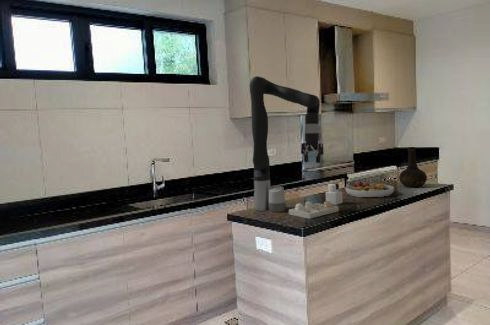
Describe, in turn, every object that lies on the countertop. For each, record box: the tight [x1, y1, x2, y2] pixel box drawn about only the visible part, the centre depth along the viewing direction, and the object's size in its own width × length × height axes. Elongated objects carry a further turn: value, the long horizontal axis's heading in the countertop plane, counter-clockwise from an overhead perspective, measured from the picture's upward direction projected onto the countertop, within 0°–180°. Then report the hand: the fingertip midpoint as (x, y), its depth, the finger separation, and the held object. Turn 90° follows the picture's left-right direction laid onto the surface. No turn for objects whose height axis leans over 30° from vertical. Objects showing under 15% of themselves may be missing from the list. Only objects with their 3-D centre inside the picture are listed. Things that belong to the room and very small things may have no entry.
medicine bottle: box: [325, 182, 343, 206], centre depth 228 cm, size 7×7×12 cm
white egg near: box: [294, 202, 304, 211], centre depth 203 cm, size 4×4×6 cm
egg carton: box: [288, 202, 340, 219], centre depth 204 cm, size 15×22×3 cm
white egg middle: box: [304, 201, 314, 209], centre depth 207 cm, size 4×4×6 cm
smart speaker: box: [268, 185, 287, 213], centre depth 214 cm, size 10×9×14 cm
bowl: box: [345, 180, 395, 198], centre depth 252 cm, size 30×30×8 cm
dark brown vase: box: [398, 146, 428, 188], centre depth 271 cm, size 18×18×28 cm
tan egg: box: [323, 200, 333, 208], centre depth 205 cm, size 4×4×6 cm
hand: (312, 162), depth 208 cm, fingers open, 8 cm apart
